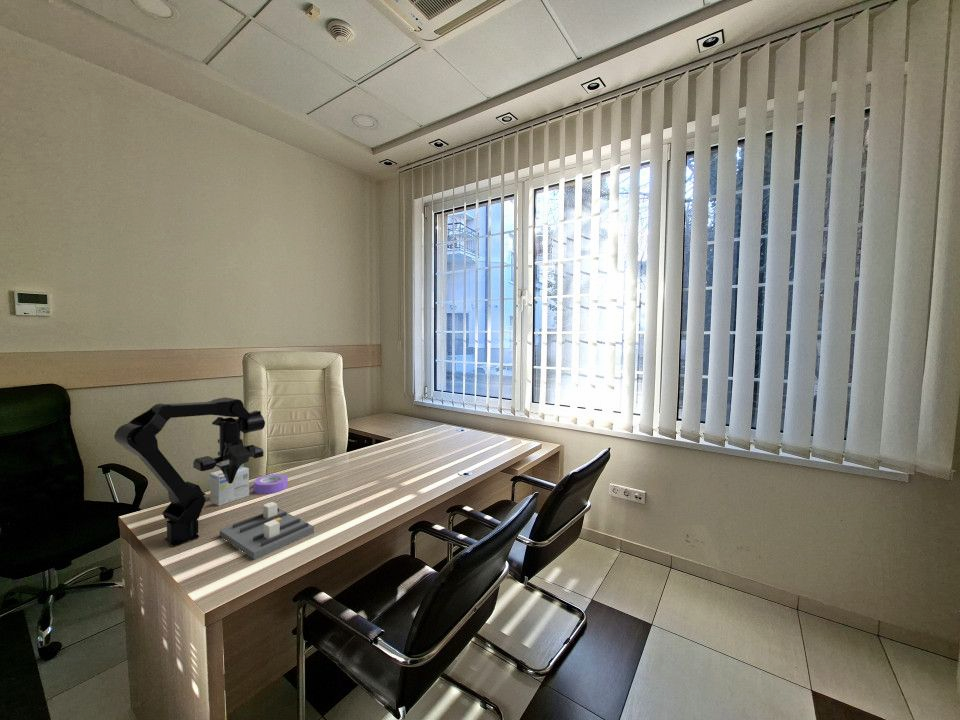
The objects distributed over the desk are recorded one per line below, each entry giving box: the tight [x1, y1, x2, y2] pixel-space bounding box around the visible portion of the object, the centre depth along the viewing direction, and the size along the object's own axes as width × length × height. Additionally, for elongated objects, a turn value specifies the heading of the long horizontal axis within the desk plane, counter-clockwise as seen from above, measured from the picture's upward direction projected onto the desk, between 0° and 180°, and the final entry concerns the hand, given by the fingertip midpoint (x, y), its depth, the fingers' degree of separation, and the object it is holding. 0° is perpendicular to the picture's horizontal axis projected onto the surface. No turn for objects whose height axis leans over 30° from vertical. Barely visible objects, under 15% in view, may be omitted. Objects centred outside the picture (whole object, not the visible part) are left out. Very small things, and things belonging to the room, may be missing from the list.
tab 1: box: [262, 501, 279, 519], centre depth 123 cm, size 3×3×4 cm
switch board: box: [219, 507, 315, 561], centre depth 117 cm, size 18×20×3 cm
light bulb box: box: [209, 465, 250, 507], centre depth 139 cm, size 11×7×11 cm, turn 149°
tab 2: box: [264, 520, 280, 539], centre depth 112 cm, size 3×3×4 cm
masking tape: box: [253, 473, 289, 495], centre depth 150 cm, size 12×12×4 cm
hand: (230, 483), depth 125 cm, fingers closed
